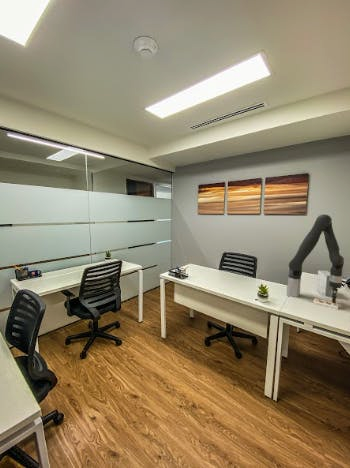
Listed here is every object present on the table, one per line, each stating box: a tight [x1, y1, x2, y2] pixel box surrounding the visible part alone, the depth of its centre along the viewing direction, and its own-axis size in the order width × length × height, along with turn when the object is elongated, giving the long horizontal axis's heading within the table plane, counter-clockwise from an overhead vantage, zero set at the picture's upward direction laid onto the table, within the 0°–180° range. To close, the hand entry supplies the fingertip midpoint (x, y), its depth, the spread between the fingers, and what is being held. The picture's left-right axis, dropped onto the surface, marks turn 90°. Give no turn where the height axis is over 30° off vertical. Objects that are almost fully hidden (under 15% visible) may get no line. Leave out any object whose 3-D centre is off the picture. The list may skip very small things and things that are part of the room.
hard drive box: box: [316, 270, 333, 298], centre depth 180 cm, size 16×8×20 cm, turn 168°
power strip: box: [308, 298, 339, 311], centre depth 159 cm, size 18×7×3 cm, turn 51°
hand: (333, 300), depth 159 cm, fingers open, 8 cm apart
